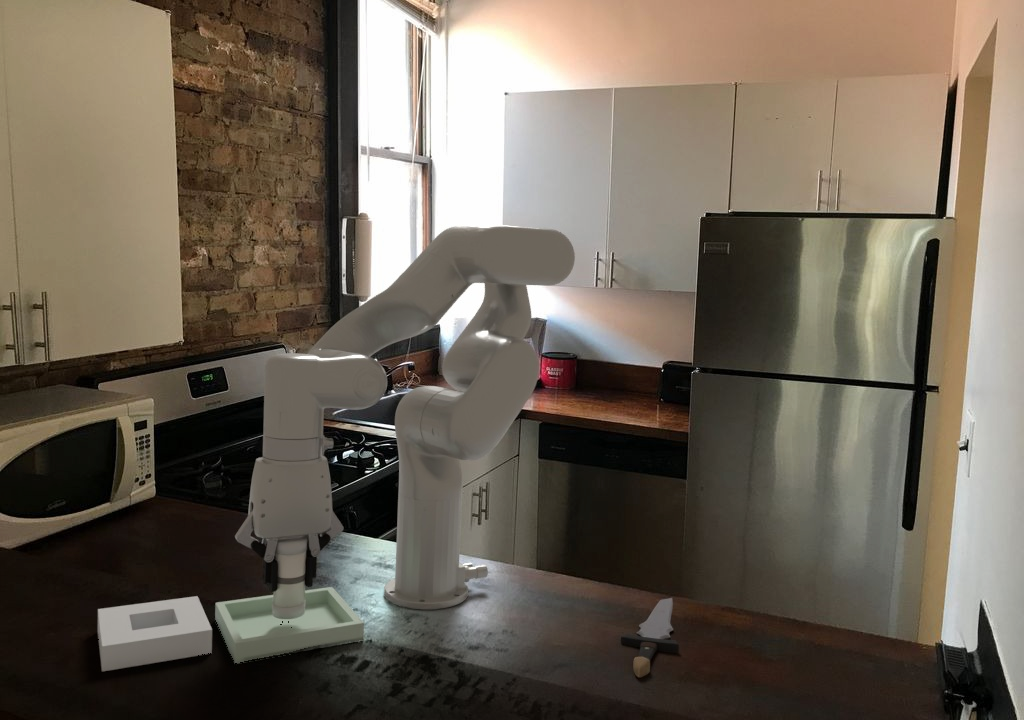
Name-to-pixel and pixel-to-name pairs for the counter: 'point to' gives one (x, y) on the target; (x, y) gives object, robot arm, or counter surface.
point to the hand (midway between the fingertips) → (289, 584)
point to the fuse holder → (152, 632)
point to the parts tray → (285, 625)
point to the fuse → (290, 578)
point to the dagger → (652, 637)
